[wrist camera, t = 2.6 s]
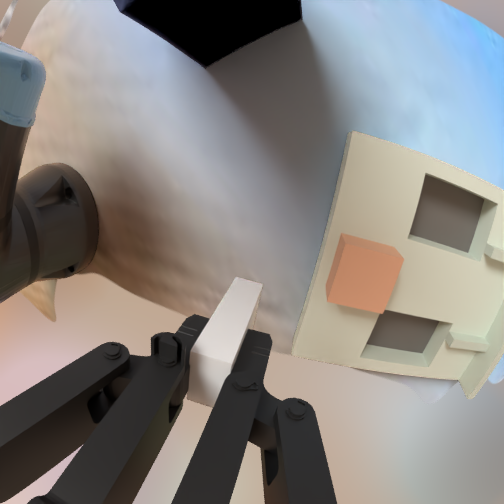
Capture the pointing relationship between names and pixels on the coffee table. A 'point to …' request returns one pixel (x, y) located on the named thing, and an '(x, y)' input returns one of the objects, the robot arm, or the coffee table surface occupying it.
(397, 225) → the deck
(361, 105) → the coffee table surface
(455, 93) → the coffee table surface
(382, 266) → the block
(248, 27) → the vase
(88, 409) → the robot arm
